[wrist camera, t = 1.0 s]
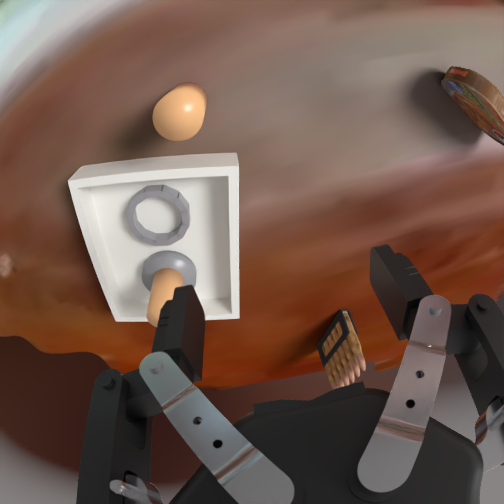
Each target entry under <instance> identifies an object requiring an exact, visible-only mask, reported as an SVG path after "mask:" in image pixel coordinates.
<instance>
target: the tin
mask: <svg viewBox="0 0 504 504" xmlns="http://www.w3.org/2000/svg"><path fill="white" fill-rule="evenodd" d="M441 85H442V87H443V89H444V90H445V91H446V93H447V94H448V95H449V96H450V97H451V98H452V99H453V100H454V101H455V102H456V103H457V104H458V105H459V106H460V107H461V108H462V109H463V110H464V111H465V112H466V113H467V115H468V116H469V117H470V118H471V119H472V120H473V121H474V122H475V124H476V125H477V126H478V127H479V128H480V129H482V130H483V131H484V132H485V133H486V134H487V135H489V136H490V137H491V138H493V139H494V140H495V141H497V142H499V143H500V144H502V145H503V146H504V97H503V96H502V94H501V93H500V91H499V90H498V89H497V88H496V87H495V86H494V85H493V84H492V83H491V82H490V81H489V80H487V79H486V78H485V77H483V76H482V75H480V74H478V73H477V72H475V71H473V70H470V69H465V68H461V67H453V66H452V67H450V68H449V69H448V71H447V73H446V75H445V77H444V79H443V80H442V81H441Z"/></svg>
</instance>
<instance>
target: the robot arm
mask: <svg viewBox="0 0 504 504" xmlns="http://www.w3.org/2000/svg"><path fill="white" fill-rule="evenodd" d="M370 281H371V285H372V287H373V289H374V291H375V293H376V295H377V297H378V299H379V301H380V303H381V305H382V307H383V309H384V311H385V313H386V315H387V317H388V319H389V321H390V323H391V325H392V327H393V329H394V331H395V333H396V335H397V337H398V340H399V341H400V340H403V339H406V338H407V339H408V341H409V342H408V345H407V348H406V351H405V354H404V357H403V360H402V363H401V367H400V369H399V372H398V375H397V377H396V380H395V383H394V385H393V388H392V391H391V393H389V392H387V391H384V390H380V389H372V388H365V387H364V383H363V382H359V383H355V384H351V385H347V386H343V387H339V388H336V389H334V390H332V391H330V392H328V393H325V394H324V395H321V396H319V397H317V398H315V399H313V400H309V401H300V400H298V401H297V400H277V401H270V402H263V403H257V404H253V405H254V411H253V412H251V413H249V414H247V415H245V416H243V417H241V418H240V419H238V421H236V422H235V423H234V424H233V425H232V424H231V423H230V422H229V421H228V420H227V419H226V418H225V417H224V416H223V415H222V414H221V413H220V412H219V411H218V410H217V409H216V408H215V407H214V406H213V405H212V403H211V402H210V401H209V400H208V399H207V398H206V397H205V396H204V395H203V394H202V392H201V391H200V390H199V389H198V388H197V387H196V386H195V385H193V382H195V381H202V366H203V349H204V334H205V314H204V310H203V307H202V305H201V303H200V301H199V298H198V296H197V294H196V291H195V289H194V287H193V285H186V286H180V287H176V288H175V289H174V294H173V299H172V300H167V301H166V302H165V304H164V305H163V307H162V308H161V310H160V315H159V320H158V324H157V328H156V333H155V338H154V343H153V348H152V353H151V354H149V355H148V356H146V357H145V358H144V359H143V361H142V362H141V364H140V368H138V369H136V370H134V371H131V372H129V373H126V374H123V375H122V374H121V373H120V372H119V371H118V370H115V369H109V370H106V371H104V372H103V373H101V374H100V375H99V376H98V377H97V379H96V381H95V384H94V388H93V393H92V398H91V402H90V407H89V413H88V419H87V424H86V429H85V435H84V442H83V448H82V455H81V463H80V471H79V479H78V490H77V502H76V504H163V503H162V500H161V494H160V492H159V490H158V489H157V487H156V486H154V485H153V484H151V483H150V464H151V439H152V421H153V415H155V414H158V413H161V412H164V413H165V414H166V416H167V417H168V419H169V420H170V421H171V423H172V424H173V425H174V426H175V428H176V429H177V431H178V432H179V433H180V435H181V436H182V437H183V438H184V440H185V441H186V442H187V444H188V445H189V446H190V447H191V449H192V450H193V451H194V452H195V454H196V455H197V456H198V457H199V458H200V460H201V461H202V462H203V463H202V464H201V465H200V466H199V468H198V469H197V470H196V471H195V473H194V474H193V475H192V476H191V477H190V479H189V480H188V481H187V483H186V484H185V485H184V486H183V487H182V488H181V490H180V491H179V492H178V493H177V494H176V496H175V497H174V498H173V499H172V500H171V501H170V503H169V504H480V499H479V497H480V486H481V481H482V476H483V474H484V473H486V472H487V471H489V470H491V469H493V468H495V467H496V466H498V465H504V315H503V313H502V312H501V310H500V309H499V307H498V306H497V304H496V303H495V301H494V300H493V299H492V298H491V297H489V296H487V295H484V294H476V295H473V296H472V297H471V298H470V300H469V302H468V304H456V305H453V304H450V303H449V302H448V301H447V300H446V299H445V298H443V297H441V296H438V295H434V294H433V292H432V291H431V289H430V288H429V286H428V285H427V283H426V282H425V280H424V279H423V278H422V276H421V275H420V274H419V273H418V271H417V269H416V268H414V265H413V264H412V262H411V261H410V260H409V258H407V257H406V256H404V255H403V254H401V253H396V254H395V253H394V252H393V251H392V249H391V248H390V246H389V245H388V244H385V245H380V246H376V247H372V248H371V251H370ZM446 354H454V356H455V358H456V360H457V362H458V364H459V367H460V369H461V371H462V374H463V376H464V378H465V381H466V383H467V385H468V388H469V390H470V393H471V395H472V398H473V400H474V403H475V405H476V408H477V411H478V414H479V418H478V419H477V421H476V424H475V435H476V441H475V443H473V442H472V441H471V440H469V439H468V438H466V437H464V436H462V435H461V434H459V433H457V432H456V431H454V430H452V429H450V428H448V427H447V426H445V425H443V424H442V423H440V422H438V421H437V420H435V419H433V418H432V417H430V414H431V411H432V407H433V404H434V400H435V397H436V394H437V390H438V386H439V382H440V378H441V374H442V370H443V366H444V361H445V357H446Z"/></svg>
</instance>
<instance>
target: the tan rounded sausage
mask: <svg viewBox="0 0 504 504" xmlns="http://www.w3.org/2000/svg"><path fill="white" fill-rule="evenodd" d="M206 105H207V96H206V93H205V91H204V90H203V89H202V88H201V87H200V86H199V85H197V84H195V83H182V84H179V85H177V86H176V87H175V88H173V89H172V90H171V91H170V92H169V93H168V94H166V95H165V96H164V97H163V98H162V99H161V100H160V101H159V102H158V103H157V104H156V106H155V108H154V111H153V124H154V127H155V129H156V130H157V132H158V133H159V134H160V135H161V136H163V137H164V138H166V139H169V140H172V141H182V140H186V139H189V138H191V137H192V136H194V135H195V134H196V133H197V132H198V131H199V129H200V128H201V126H202V123H203V119H204V114H205V109H206Z"/></svg>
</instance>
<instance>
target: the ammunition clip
mask: <svg viewBox="0 0 504 504" xmlns="http://www.w3.org/2000/svg"><path fill="white" fill-rule="evenodd" d="M357 334H358V332H357V329H356V327H355V324H354V321H353V319H352V316H351V313H350V311H349V310H346V309H340V310H339V312H338V313H337V315H336V317H335V318H334V320H333V321H332V323H331V324H330V326H329V328H328V329H327V331H326V332H325V334H324V335H323V337H322V338H321V340H320V341H319V343H318V344H317V348H318V352H319V355H320V358H321V361H322V364H323V367H325V369H326V372H327V375H328V378H329V380H330V383H331V385H332V388H333V390H334V389H336V388H339V387H343V386H344V384H345V386H347V385H349V379H350V380H351V382H352V383H354V373H355V374H356V376H358V377H359V376H360V370H359V366H360V367H361V369H362V370H363V371H365V360H364V357H363V354H362V351H361V345H360V343H359V340H358V337H357ZM358 364H359V365H358ZM353 371H354V372H353Z"/></svg>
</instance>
